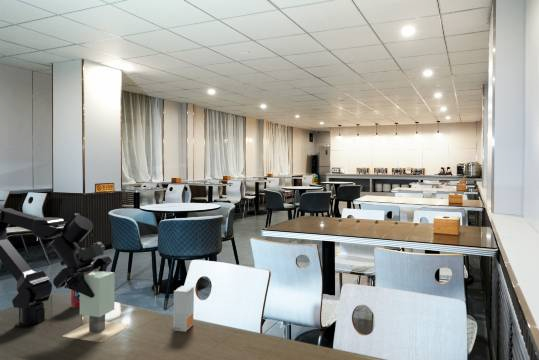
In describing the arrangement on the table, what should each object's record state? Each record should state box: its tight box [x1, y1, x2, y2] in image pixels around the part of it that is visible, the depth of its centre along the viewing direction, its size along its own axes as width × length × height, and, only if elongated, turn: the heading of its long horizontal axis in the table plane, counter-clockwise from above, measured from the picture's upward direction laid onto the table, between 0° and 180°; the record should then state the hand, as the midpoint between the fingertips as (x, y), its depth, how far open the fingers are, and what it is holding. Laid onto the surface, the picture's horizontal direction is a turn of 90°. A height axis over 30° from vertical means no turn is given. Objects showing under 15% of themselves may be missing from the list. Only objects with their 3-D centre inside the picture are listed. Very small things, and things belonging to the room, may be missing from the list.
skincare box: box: [172, 285, 195, 332], centre depth 123 cm, size 6×4×12 cm
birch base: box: [61, 314, 130, 343], centre depth 118 cm, size 13×13×6 cm
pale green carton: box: [79, 271, 116, 317], centre depth 118 cm, size 7×7×11 cm
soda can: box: [69, 261, 94, 309], centre depth 141 cm, size 8×8×15 cm
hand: (101, 293), depth 117 cm, fingers closed on pale green carton, 7 cm apart
